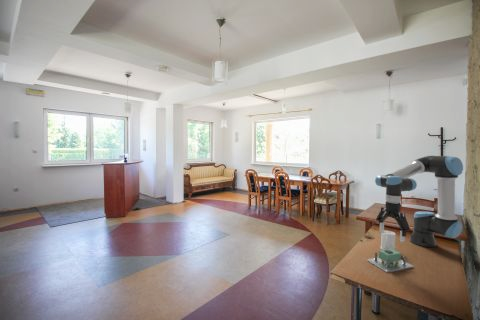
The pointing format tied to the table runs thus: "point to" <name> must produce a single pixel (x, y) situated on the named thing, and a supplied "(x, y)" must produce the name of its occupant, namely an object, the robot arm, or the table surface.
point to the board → (390, 255)
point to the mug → (387, 240)
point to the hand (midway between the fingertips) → (391, 236)
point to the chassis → (390, 264)
